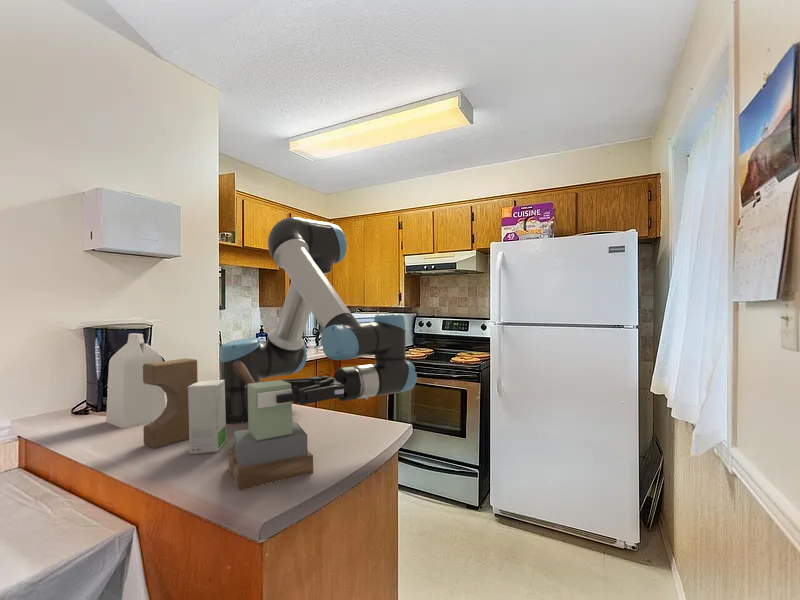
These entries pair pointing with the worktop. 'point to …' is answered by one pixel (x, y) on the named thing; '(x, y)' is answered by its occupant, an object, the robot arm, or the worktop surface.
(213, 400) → the skincare box
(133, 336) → the milk
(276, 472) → the walnut base slab
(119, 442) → the worktop surface
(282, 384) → the sage block
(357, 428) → the worktop surface
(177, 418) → the decorative block
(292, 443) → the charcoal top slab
